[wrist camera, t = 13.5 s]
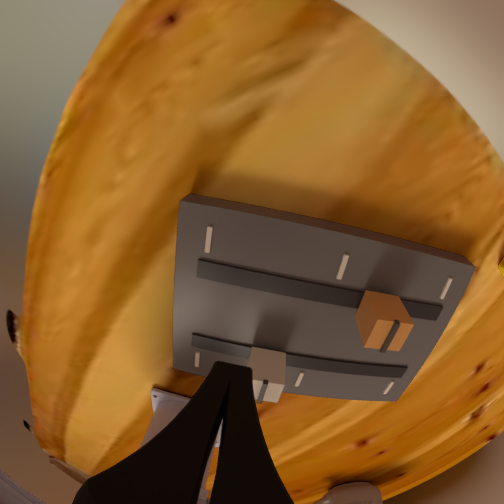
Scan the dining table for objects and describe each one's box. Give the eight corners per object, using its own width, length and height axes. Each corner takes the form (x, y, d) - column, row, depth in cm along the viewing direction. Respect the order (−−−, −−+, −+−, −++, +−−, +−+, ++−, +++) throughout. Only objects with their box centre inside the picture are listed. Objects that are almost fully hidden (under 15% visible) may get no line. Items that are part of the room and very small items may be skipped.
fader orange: (386, 321, 17) (399, 354, 14) (354, 316, 17) (364, 351, 14) (398, 295, 16) (415, 326, 14) (365, 289, 17) (379, 321, 14)
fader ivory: (279, 371, 20) (277, 406, 17) (247, 366, 20) (241, 399, 17) (286, 352, 19) (284, 387, 16) (252, 346, 19) (245, 380, 16)
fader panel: (392, 387, 23) (396, 402, 21) (179, 354, 24) (172, 370, 22) (464, 256, 17) (477, 268, 15) (189, 193, 18) (178, 201, 16)
